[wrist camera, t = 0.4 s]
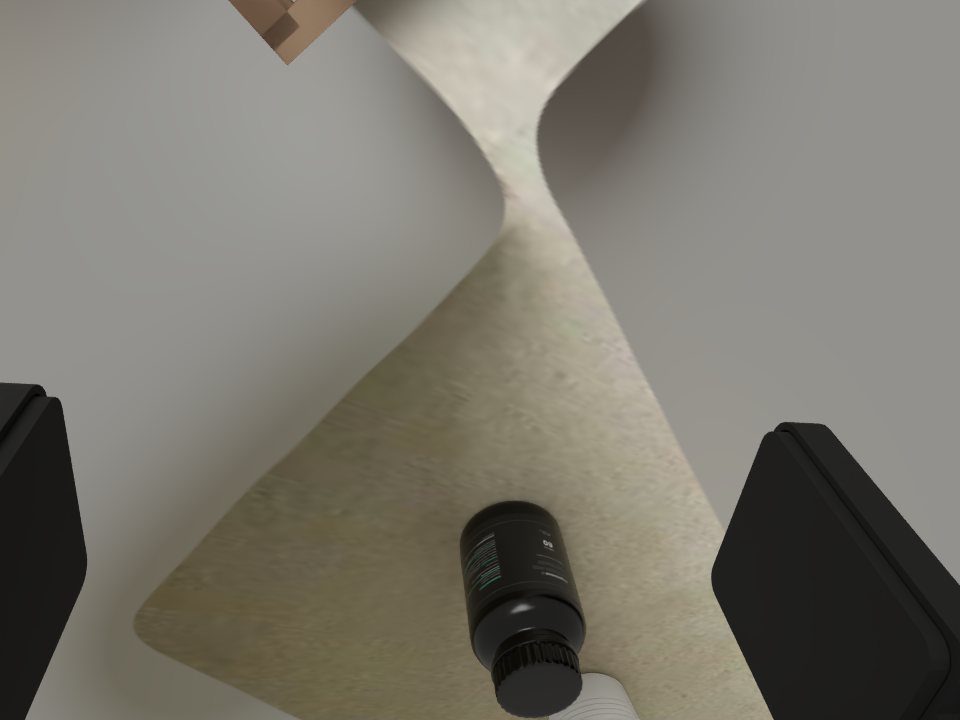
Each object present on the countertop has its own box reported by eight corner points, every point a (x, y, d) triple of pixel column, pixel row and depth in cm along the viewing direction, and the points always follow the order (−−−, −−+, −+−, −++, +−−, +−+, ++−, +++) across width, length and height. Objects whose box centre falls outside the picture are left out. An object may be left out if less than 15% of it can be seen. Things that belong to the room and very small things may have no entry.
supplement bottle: (579, 530, 53) (626, 682, 43) (508, 586, 55) (537, 745, 45) (510, 480, 50) (543, 631, 40) (437, 541, 52) (451, 700, 42)
